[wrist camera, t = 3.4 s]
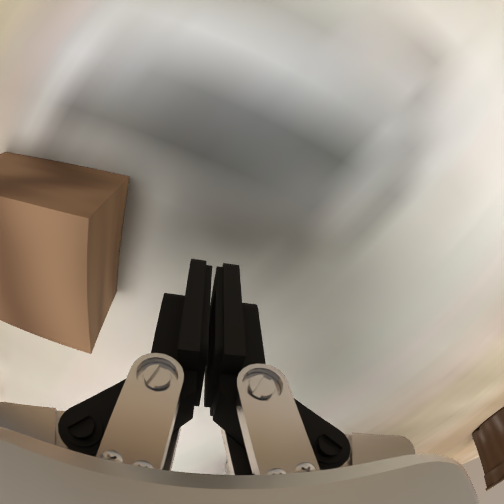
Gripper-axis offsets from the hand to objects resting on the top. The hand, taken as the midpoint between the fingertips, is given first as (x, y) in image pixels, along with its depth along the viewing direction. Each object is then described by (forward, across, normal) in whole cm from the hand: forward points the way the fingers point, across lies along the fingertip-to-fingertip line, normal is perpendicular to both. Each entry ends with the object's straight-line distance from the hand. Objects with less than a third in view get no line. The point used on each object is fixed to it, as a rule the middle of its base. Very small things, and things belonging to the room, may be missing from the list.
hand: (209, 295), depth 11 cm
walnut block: (+5, +9, +1) cm, 10 cm away
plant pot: (+4, -65, +35) cm, 74 cm away
